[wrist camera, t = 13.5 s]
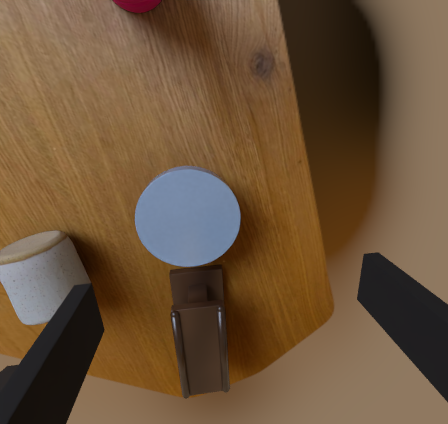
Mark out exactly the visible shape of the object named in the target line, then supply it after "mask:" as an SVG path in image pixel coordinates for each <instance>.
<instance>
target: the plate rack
mask: <svg viewBox="0 0 448 424" xmlns="http://www.w3.org/2000/svg"><path fill="white" fill-rule="evenodd" d="M169 276H170V283H171V290H172V297H173V304H174V305H172V308H171V321H172V328H173V335H174V341H175V348H176V355H177V361H178V368H179V375H180V382H181V388H182V395H183V397H184V398H188V397H189V396H191V395H197V394H204V393H211V392H217V391H224V392H228V391H229V389H230V385H229V367H228V350H227V332H226V314H225V306H224V291H223V274H222V266H221V265H213V266H203V267H194V268H184V269H175V270H170V274H169Z"/></svg>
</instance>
